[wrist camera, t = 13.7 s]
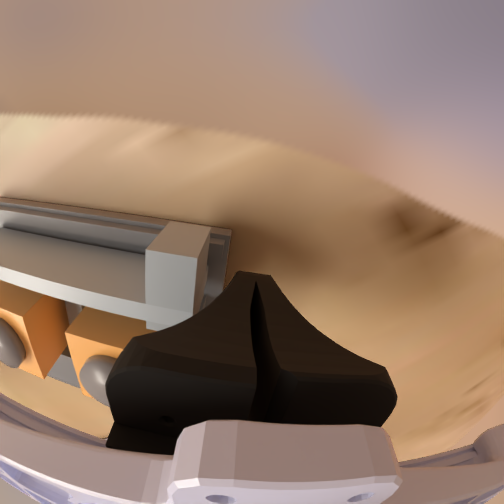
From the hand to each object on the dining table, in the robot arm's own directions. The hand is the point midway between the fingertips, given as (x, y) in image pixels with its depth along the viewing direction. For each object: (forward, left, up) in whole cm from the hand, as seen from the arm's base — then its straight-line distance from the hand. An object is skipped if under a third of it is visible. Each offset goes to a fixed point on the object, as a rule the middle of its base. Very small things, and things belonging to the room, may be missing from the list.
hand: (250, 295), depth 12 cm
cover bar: (+6, +5, -1) cm, 8 cm away
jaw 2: (+1, +6, -2) cm, 7 cm away
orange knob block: (+5, +11, -2) cm, 12 cm away
